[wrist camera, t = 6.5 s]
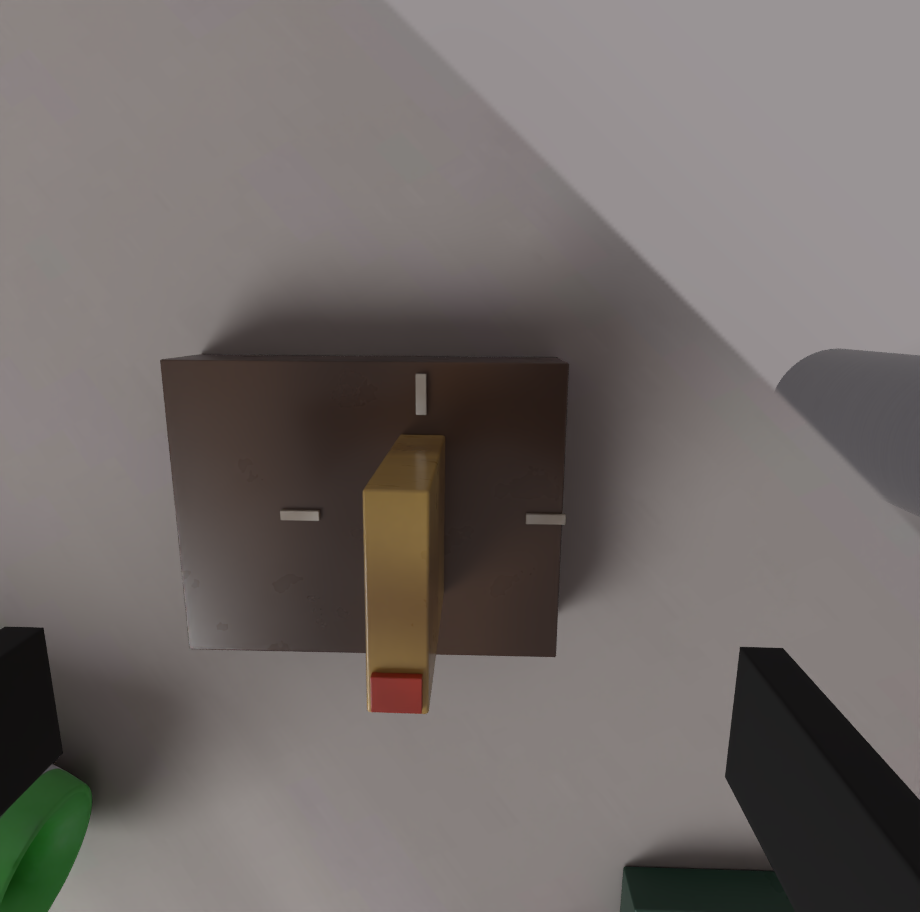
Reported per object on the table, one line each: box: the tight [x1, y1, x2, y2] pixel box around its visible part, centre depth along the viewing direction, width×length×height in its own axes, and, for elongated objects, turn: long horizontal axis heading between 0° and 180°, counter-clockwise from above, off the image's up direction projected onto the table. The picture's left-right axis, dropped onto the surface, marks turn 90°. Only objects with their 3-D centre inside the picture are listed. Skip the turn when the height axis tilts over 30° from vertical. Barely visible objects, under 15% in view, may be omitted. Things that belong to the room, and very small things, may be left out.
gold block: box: [363, 434, 445, 714], centre depth 18 cm, size 6×2×7 cm, turn 179°
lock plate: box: [160, 354, 569, 657], centre depth 23 cm, size 14×11×3 cm
